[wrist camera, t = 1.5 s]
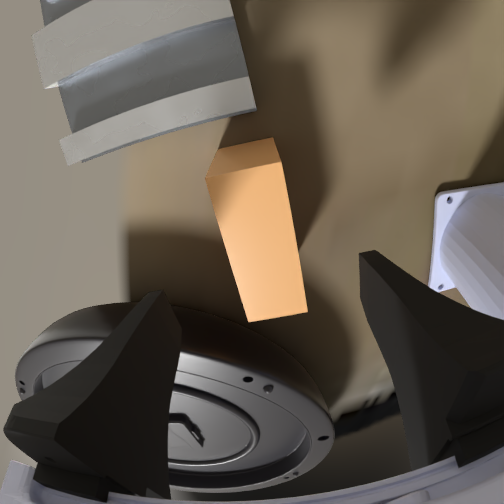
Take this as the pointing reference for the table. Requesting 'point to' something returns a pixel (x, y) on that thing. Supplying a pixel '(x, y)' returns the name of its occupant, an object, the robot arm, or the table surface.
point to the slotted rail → (140, 69)
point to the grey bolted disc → (208, 398)
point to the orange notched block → (257, 228)
